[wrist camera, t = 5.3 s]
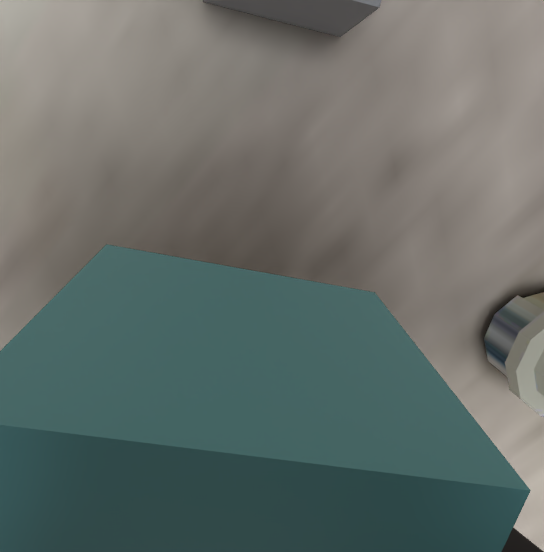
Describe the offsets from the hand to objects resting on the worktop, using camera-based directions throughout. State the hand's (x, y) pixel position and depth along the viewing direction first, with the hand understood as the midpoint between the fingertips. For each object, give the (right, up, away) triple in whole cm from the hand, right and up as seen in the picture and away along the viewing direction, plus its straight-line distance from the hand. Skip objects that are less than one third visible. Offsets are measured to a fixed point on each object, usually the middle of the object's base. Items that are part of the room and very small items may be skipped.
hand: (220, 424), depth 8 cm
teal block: (0, 0, +1) cm, 1 cm away
